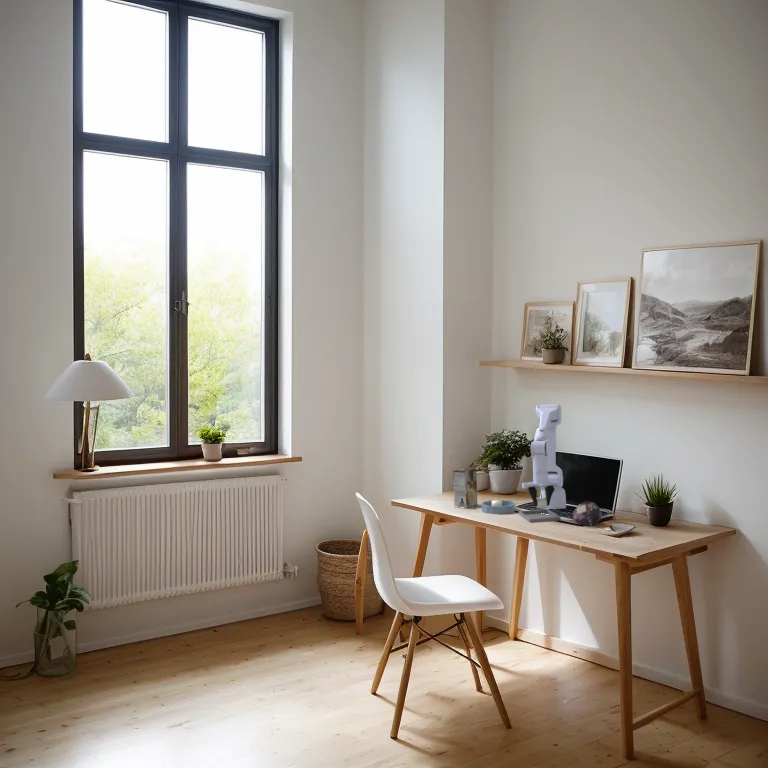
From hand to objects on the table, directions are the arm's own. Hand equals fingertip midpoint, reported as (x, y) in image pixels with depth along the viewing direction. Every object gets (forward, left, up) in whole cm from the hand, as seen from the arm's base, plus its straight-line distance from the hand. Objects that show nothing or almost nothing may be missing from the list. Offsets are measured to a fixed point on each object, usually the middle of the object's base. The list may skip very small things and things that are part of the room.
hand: (541, 505), depth 340 cm
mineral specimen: (-14, +13, -7) cm, 20 cm away
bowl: (+12, -20, -6) cm, 24 cm away
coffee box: (+22, -37, -7) cm, 44 cm away
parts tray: (0, -3, -6) cm, 7 cm away
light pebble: (+12, -23, -5) cm, 26 cm away
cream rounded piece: (0, 0, -1) cm, 1 cm away
